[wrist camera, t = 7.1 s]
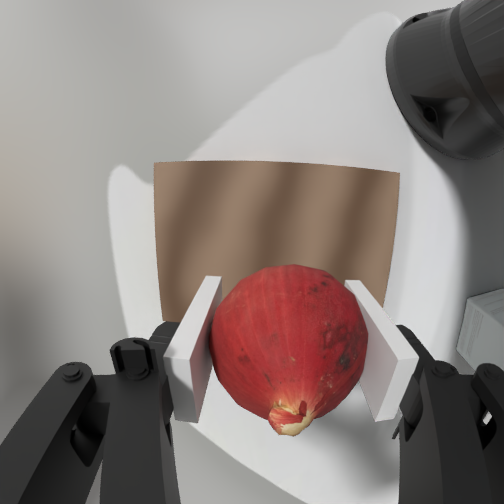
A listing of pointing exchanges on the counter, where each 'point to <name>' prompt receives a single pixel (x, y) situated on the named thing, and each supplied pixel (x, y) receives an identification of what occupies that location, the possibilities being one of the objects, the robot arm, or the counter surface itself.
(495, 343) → the supplement box
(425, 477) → the robot arm
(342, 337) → the onion
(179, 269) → the walnut board
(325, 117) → the counter surface
